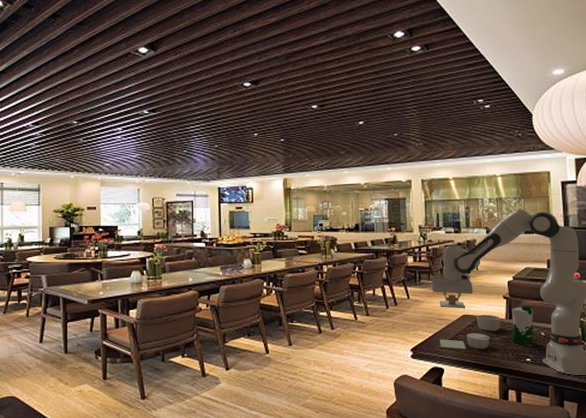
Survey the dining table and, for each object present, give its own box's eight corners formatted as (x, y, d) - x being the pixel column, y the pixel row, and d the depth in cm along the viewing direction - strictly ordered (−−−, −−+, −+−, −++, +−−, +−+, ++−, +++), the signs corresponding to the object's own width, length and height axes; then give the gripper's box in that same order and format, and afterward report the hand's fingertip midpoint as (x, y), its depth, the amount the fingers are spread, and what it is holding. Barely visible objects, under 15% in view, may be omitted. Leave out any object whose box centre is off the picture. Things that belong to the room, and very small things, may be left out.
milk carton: (527, 346, 222) (526, 308, 223) (510, 341, 230) (509, 305, 230) (535, 343, 227) (534, 306, 228) (518, 339, 235) (517, 303, 235)
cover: (465, 308, 218) (465, 298, 218) (440, 307, 222) (440, 296, 222) (462, 303, 230) (462, 293, 230) (439, 302, 233) (439, 292, 233)
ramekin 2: (486, 351, 215) (485, 340, 215) (463, 346, 222) (463, 336, 222) (492, 345, 223) (492, 335, 224) (470, 341, 231) (470, 331, 231)
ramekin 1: (472, 327, 259) (471, 316, 259) (486, 324, 265) (486, 313, 265) (491, 332, 247) (490, 321, 247) (505, 329, 253) (505, 318, 254)
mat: (465, 349, 217) (465, 348, 217) (441, 347, 221) (441, 346, 221) (463, 341, 230) (463, 341, 230) (439, 340, 233) (439, 339, 233)
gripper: (431, 275, 226) (431, 301, 225) (472, 276, 220) (473, 303, 220) (431, 273, 232) (431, 298, 232) (471, 275, 226) (471, 300, 226)
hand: (452, 301), depth 226 cm, fingers closed on cover, 4 cm apart
